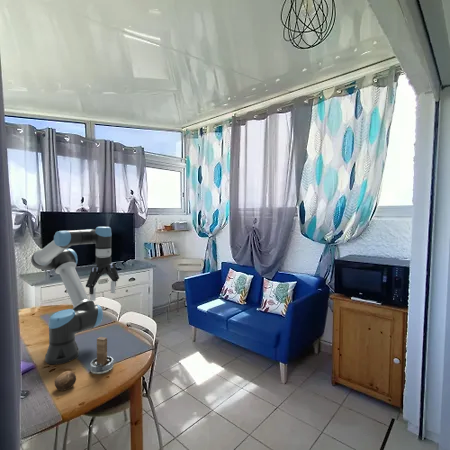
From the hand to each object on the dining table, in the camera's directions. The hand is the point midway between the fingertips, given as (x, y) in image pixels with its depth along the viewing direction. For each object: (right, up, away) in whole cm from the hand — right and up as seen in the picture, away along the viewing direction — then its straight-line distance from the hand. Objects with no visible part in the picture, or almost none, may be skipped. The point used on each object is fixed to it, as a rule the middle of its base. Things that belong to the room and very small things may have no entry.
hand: (103, 296), depth 146 cm
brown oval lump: (-6, -33, -25) cm, 42 cm away
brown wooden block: (+4, -31, -11) cm, 33 cm away
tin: (+4, -32, -10) cm, 34 cm away
